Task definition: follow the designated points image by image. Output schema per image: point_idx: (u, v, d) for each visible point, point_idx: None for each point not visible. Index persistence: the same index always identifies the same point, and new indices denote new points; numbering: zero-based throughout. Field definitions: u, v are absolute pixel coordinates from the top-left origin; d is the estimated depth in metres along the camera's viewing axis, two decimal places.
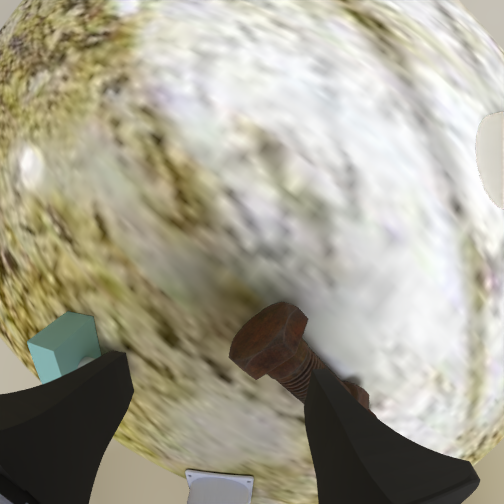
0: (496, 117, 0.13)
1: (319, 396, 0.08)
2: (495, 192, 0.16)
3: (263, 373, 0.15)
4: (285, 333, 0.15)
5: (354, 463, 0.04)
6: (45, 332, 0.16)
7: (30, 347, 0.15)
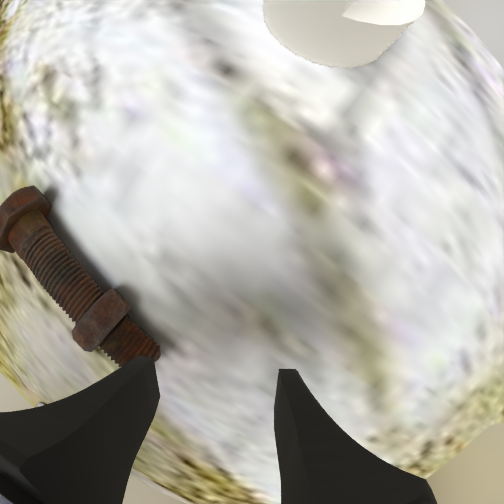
0: None
1: (282, 397, 0.08)
2: (286, 38, 0.13)
3: None
4: (6, 199, 0.12)
5: (301, 469, 0.04)
6: None
7: None
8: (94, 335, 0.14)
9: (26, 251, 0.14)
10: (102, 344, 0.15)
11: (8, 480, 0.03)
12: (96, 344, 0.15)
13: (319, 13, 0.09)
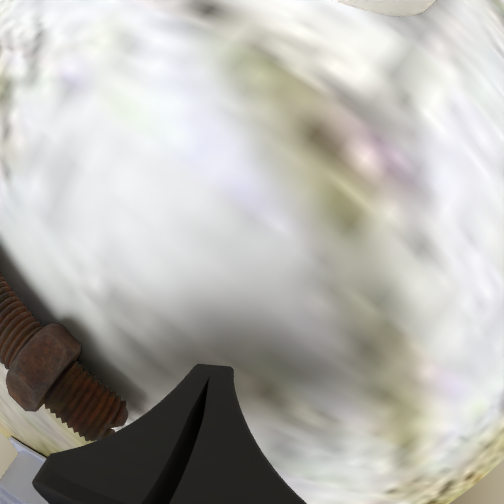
0: None
1: None
2: None
3: None
4: None
5: (191, 463, 0.04)
6: None
7: None
8: (28, 395, 0.07)
9: None
10: (45, 403, 0.08)
11: None
12: (34, 406, 0.07)
13: None
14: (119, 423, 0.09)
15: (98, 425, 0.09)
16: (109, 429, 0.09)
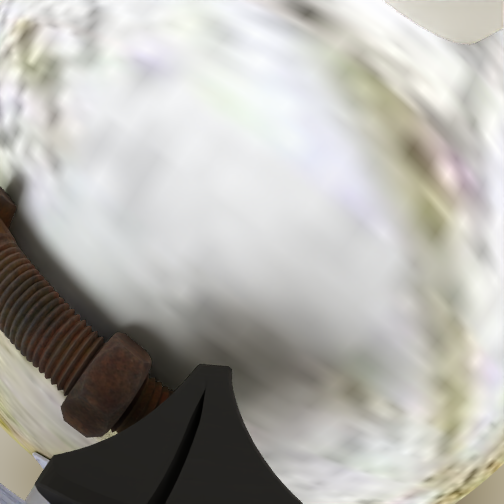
0: None
1: None
2: None
3: None
4: None
5: (189, 462, 0.04)
6: None
7: None
8: (98, 421, 0.07)
9: None
10: (113, 427, 0.08)
11: None
12: (103, 432, 0.07)
13: None
14: None
15: None
16: None
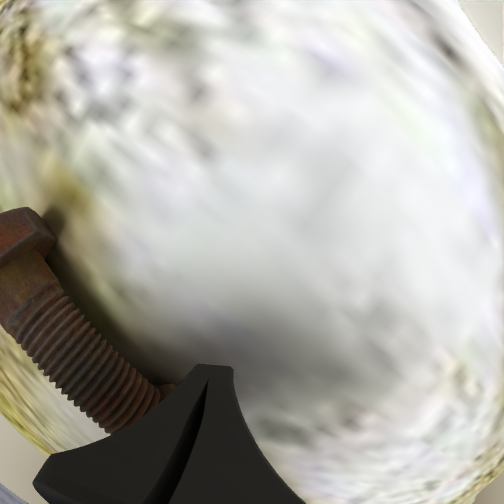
0: None
1: None
2: (502, 41, 0.06)
3: None
4: None
5: (191, 463, 0.04)
6: None
7: None
8: None
9: (18, 331, 0.07)
10: None
11: None
12: None
13: None
14: None
15: None
16: None
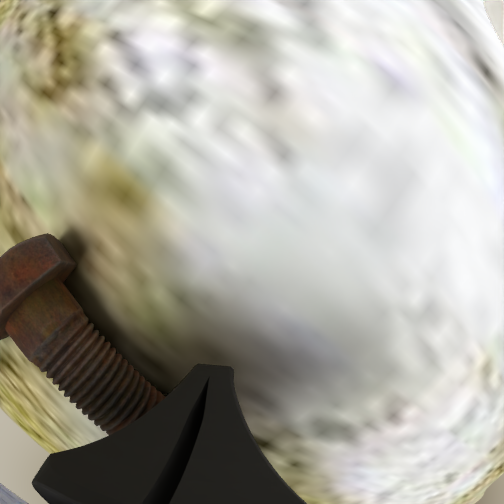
0: None
1: None
2: None
3: None
4: None
5: (191, 463, 0.04)
6: None
7: None
8: None
9: (44, 362, 0.07)
10: None
11: None
12: None
13: None
14: None
15: None
16: None
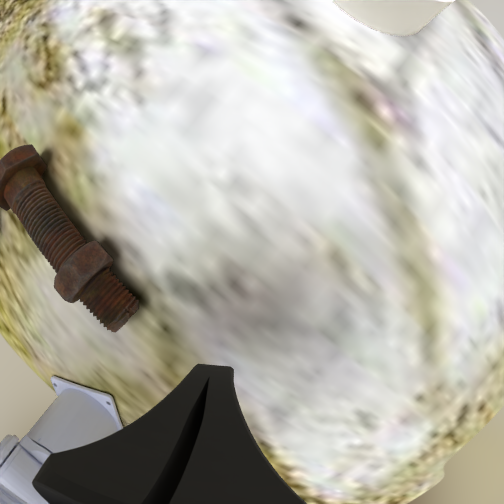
0: None
1: None
2: (349, 4, 0.12)
3: None
4: (6, 155, 0.12)
5: (191, 463, 0.04)
6: None
7: None
8: (74, 282, 0.14)
9: (19, 203, 0.14)
10: (81, 294, 0.15)
11: None
12: (75, 292, 0.15)
13: None
14: (133, 309, 0.17)
15: (118, 309, 0.16)
16: (125, 312, 0.16)
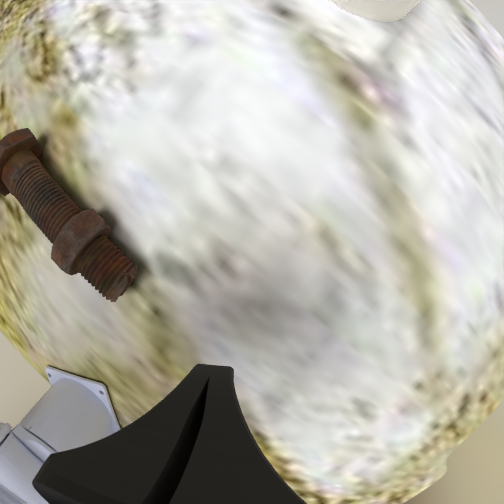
0: None
1: None
2: None
3: None
4: (3, 138, 0.12)
5: (192, 463, 0.04)
6: None
7: None
8: (71, 247, 0.14)
9: (16, 182, 0.14)
10: (79, 262, 0.15)
11: None
12: (72, 258, 0.14)
13: None
14: (131, 272, 0.16)
15: (116, 272, 0.16)
16: (123, 276, 0.16)
